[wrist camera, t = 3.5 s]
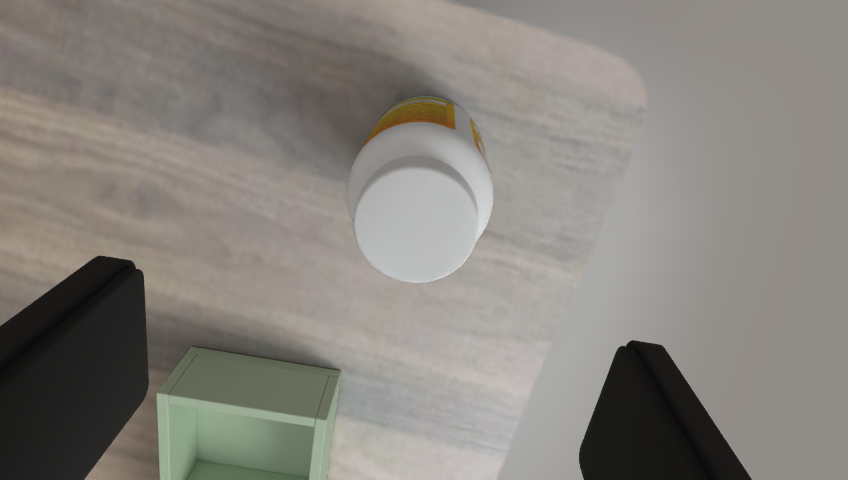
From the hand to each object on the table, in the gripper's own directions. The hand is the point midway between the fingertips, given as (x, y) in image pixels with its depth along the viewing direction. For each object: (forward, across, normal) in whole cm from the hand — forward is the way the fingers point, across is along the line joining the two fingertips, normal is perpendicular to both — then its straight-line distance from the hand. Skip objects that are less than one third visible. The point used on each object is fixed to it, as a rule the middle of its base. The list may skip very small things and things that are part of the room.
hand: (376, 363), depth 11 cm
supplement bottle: (+17, -1, 0) cm, 17 cm away
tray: (+17, +6, +26) cm, 31 cm away
